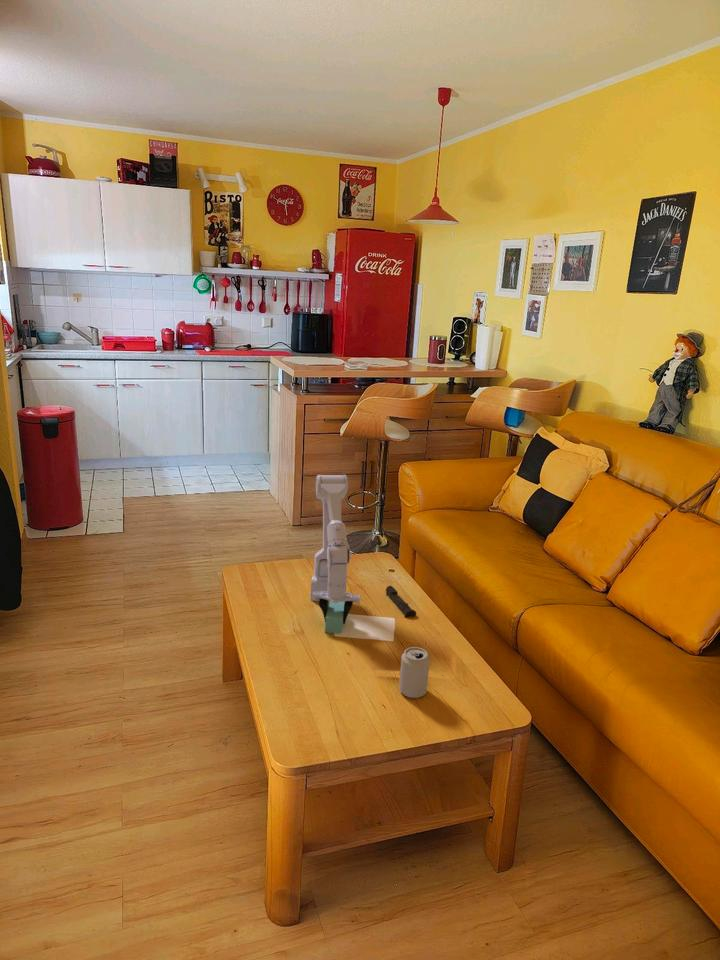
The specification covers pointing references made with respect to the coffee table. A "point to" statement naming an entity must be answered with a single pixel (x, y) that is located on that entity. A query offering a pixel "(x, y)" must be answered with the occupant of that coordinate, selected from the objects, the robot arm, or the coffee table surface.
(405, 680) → the can
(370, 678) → the coffee table surface
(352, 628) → the board
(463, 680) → the coffee table surface
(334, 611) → the block
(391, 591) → the hand tool
